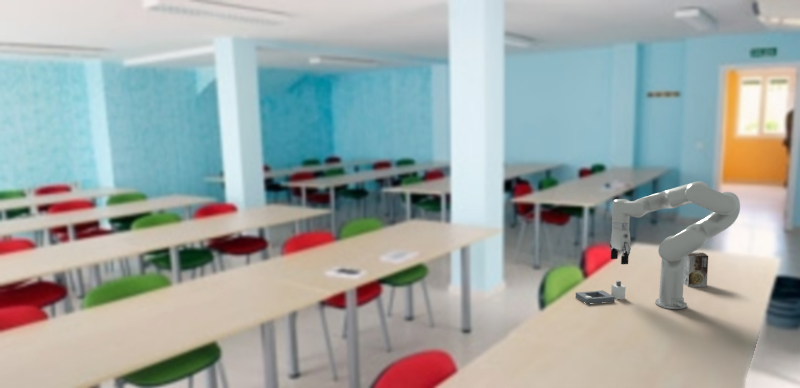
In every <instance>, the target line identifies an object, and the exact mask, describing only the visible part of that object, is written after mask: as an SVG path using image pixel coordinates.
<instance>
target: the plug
mask: <svg viewBox="0 0 800 388" xmlns="http://www.w3.org/2000/svg"><path fill="white" fill-rule="evenodd" d="M615 283H616V284H611V293H610V295H612V296H614V297H615V300H616V299H620V300H626V286H625V285H623V284H622V281H620V280H616V281H615Z"/></svg>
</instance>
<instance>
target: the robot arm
mask: <svg viewBox="0 0 800 388" xmlns="http://www.w3.org/2000/svg"><path fill="white" fill-rule="evenodd" d="M691 204H695V205H697V206H698V207H701V208H703V209H706V210H708V211H711V213H710V214H708V215H707V216H706V217H704V218H702V219H700V220H699V221H697V222H694V223H692V224H691V225H690V224H689V225H688V226H687V227H686V228H685V229H683V230H682V231H680V232H678V233H677V234H675V235H670V236H668V237H666V238H664V240H662V242H661V243H660V244H659V245H658V246H659V247H658V249H657V250H658V255H659V258H660V259H661V261H660V275H659V276H660V277H659V279H660V280H659V295H658V296H659V297H658V298H657V299H655V301H654V303H655V305H656V306H658V307H661V308H664V309H670V310H683V309H685V308H686V307H687V306H688V303H687V302H685V298H684V286H685V284H684V269H685V258H686V256H687V255H688V254H690V253H695V251H697V250H699V249H701V248H702V247H703V246H704V245H705V244H706V243H707V242H708V241H709V240H710V239H712V238H714V237H716V236H717V235H719V234H721V233H722V232H724V231H726V230H727V229H729V228H730V227H731V226H732V225H733V224H734V223H735V222H736V220H737V219H738V217H739V214H740V211H741V203H740V199H739V197H738V195H737V194H735V192H731V191H725V192H721V191H718V190H716V189H713V188H711V187H709V184H707V182H704V181H701V180H700V181H698V180H697V181H694V182H690V183H686V184H683V185H679V186H677V187H673V188H670V189H667V190H663V191H661V192H657V193H653V194H651V195H648V196H647V195H646V196H643V197H641V198H637V199H636V200H632V201H631V200H629V199H627V198H626V199H625V198H616V199H613V201H612V211H611V212H612V219H611V229H612V230H611V236H610V237H611V238H610V239H609V246H610V259H611V260H617V259H618V255H619V254H618V253H619V252H621V257H620V264H621V265H628V264H629V257H630V254H631V232H630V220H631V219H630V218H631V217H633V218H642V217H643V216H645V215H646V214H649V213H651V212H652V213H653V212H655V211H659V210H664V209H676V208H679V207H683V206H687V205H691Z"/></svg>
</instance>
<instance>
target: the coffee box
mask: <svg viewBox="0 0 800 388" xmlns="http://www.w3.org/2000/svg"><path fill="white" fill-rule="evenodd" d="M708 268H709V255H708V254H707V253H705V252H692V253H690V254H688V255H687V256H686V258H685V269H684V286H686V287H688V288H691V287H692V288H698V287H699V288H707V286H708V270H709V269H708Z"/></svg>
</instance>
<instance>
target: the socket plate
mask: <svg viewBox="0 0 800 388" xmlns="http://www.w3.org/2000/svg"><path fill="white" fill-rule="evenodd" d="M577 298H578V299H577ZM575 299H577V300H579V299H580V300H581V301H580V300H579V301H580V302H582V301H583V302H585V303H586V304H585V303H584V304H585V305H587V304H588V305H591V304H590V303H599V304H603V303H602V302H610V303H615V300H616V299H615V297H614V296H612V295H611V293H609V292H607V291H606V290H605V291H604V290H603V289H602V290H591V291H589V290H588V291H578V292H575ZM583 302H582V303H583Z"/></svg>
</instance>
